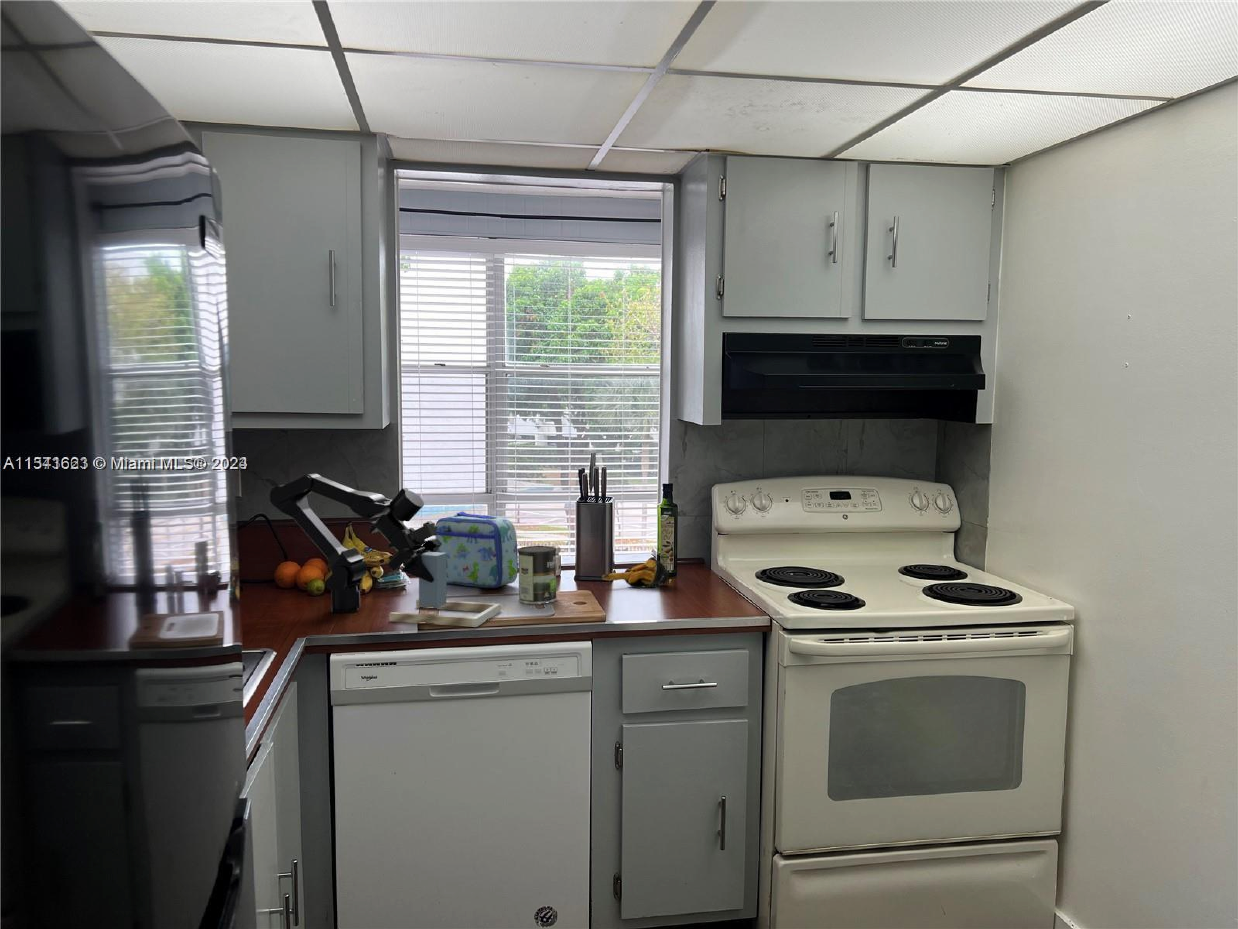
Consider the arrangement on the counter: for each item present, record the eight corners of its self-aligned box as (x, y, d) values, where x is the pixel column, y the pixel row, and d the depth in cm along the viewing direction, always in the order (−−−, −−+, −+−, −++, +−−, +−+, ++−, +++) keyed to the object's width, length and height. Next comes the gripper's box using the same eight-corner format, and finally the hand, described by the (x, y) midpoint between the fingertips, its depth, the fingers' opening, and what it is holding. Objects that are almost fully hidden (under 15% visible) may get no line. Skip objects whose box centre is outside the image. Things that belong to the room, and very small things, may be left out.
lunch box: (430, 582, 258) (428, 512, 257) (456, 576, 267) (454, 508, 265) (496, 593, 244) (495, 519, 242) (521, 586, 253) (520, 514, 251)
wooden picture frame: (389, 621, 214) (389, 613, 214) (418, 606, 229) (418, 599, 229) (476, 627, 209) (476, 618, 208) (500, 611, 223) (500, 603, 223)
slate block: (418, 606, 218) (418, 554, 217) (428, 602, 222) (428, 551, 222) (437, 607, 216) (437, 555, 216) (446, 603, 221) (446, 552, 220)
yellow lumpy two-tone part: (677, 572, 248) (621, 557, 241) (660, 603, 251) (605, 589, 244) (668, 555, 256) (614, 540, 249) (652, 585, 259) (598, 571, 252)
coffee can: (561, 596, 240) (560, 545, 238) (550, 605, 230) (550, 552, 228) (525, 595, 242) (524, 544, 241) (513, 603, 232) (512, 551, 230)
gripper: (398, 517, 210) (441, 565, 208) (434, 507, 228) (473, 551, 226) (370, 548, 212) (412, 595, 210) (407, 536, 230) (446, 579, 228)
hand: (437, 579), depth 219 cm, fingers closed on slate block, 5 cm apart
